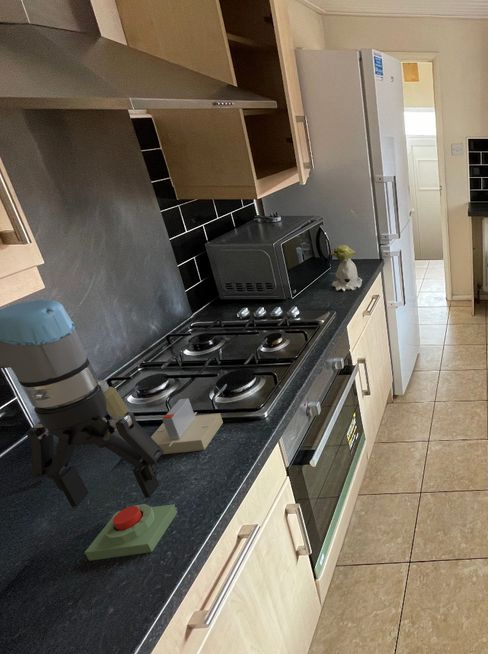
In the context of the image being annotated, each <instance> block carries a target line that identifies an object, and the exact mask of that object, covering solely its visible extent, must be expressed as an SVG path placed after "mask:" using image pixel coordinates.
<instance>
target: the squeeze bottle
mask: <svg viewBox="0 0 488 654" xmlns="http://www.w3.org/2000/svg"><path fill="white" fill-rule="evenodd" d="M98 384H99V385H100V386H101V388H102V390H103V393H104V395H105V397H106V399H107V411H108V412H109V413H110V414H111V415H112V416H113V417H117V416H124V415H125V414H126V413H127V412H131V411H130V409H129V408H128V407H127V405H126V403H125V402H124V400H123V398H122V397H121V395H120V394H119V392H118V391H117V389H116V388H115V387H113V386H109V384H108V383H107V381H106V380H104V379H103V380H101V379H100V380H99V379H98ZM109 435H110V432H108V433H107V434H106V436H105V437H104V438H103V439H106V438H107V437H108V436H109Z"/></svg>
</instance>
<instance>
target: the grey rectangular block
mask: <svg viewBox="0 0 488 654" xmlns="http://www.w3.org/2000/svg"><path fill="white" fill-rule="evenodd" d="M194 413H195V412H194V410H193V407H192V404H191V401H190V398H189V397H188V398H187V397H186V398H180V399H178V400H177V402H175V404H174V405H173V406H172V407H171V408H170V410H169V411H168V412H167V413H166V414H165V415H164V416H163V418H162V424H163V423H164V425H165V428H166V430H167V433H168V435H169V438H170V440H174V439H180V438H181V437H182V435H183V434H184V433H185V431H186V430H187V429H188V427H189V426H190V425H191V423H192V422H193V421H194V419H195V416H196V414H195V415H194Z"/></svg>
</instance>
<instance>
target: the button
mask: <svg viewBox="0 0 488 654" xmlns="http://www.w3.org/2000/svg"><path fill="white" fill-rule="evenodd" d="M119 511H120V512H119V513H118V514H117V515H116V516H115V517H114V519H113V523H114V525H115V527H116V529H117V530H118V531H124V530H126V529H128V528H131V527H133V526H134V525H135V524H136V523H138V522H139V521H140V519H141V517H142V514H141V512H140V510H139V508H138V507H136V506H135V505H133V506H128V507H126V508H124V509H121V510H119Z"/></svg>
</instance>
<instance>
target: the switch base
mask: <svg viewBox="0 0 488 654" xmlns="http://www.w3.org/2000/svg"><path fill="white" fill-rule="evenodd" d="M197 413H198V412H197V411H195V412H194V415H195V419H194V421H193V422H192V423H191V425H190V426H189V427H188V429H187V430H186V431H185V433H184V434H183V435H182V437H181V438H180V439H174V440H170V438H169V435H168V433H167V430H166V428H165V425H164V423H163V422H162V424H161V425H160V426H159V427H158V428H157V429H156V431H154V433H152V435H151V436H150V437H151V438H152V439H153V440H154V441H155V442H156V443H157V444H158V445H159V446H160V447H161V449H162V450H163V451H164V452H163V454H162V455H168V454H178V453H188V452H197V451H205V450H206V449H207V447H208V446H209V444H210V443H211V442H212V440H213V438H214V437H215V435H216V434H217V433H218V431H219V430H220V428H221V427H222V425H223V423H224V421H223V418H222V415H221V413H220V412H219V413H209V414H198V415H197Z"/></svg>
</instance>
